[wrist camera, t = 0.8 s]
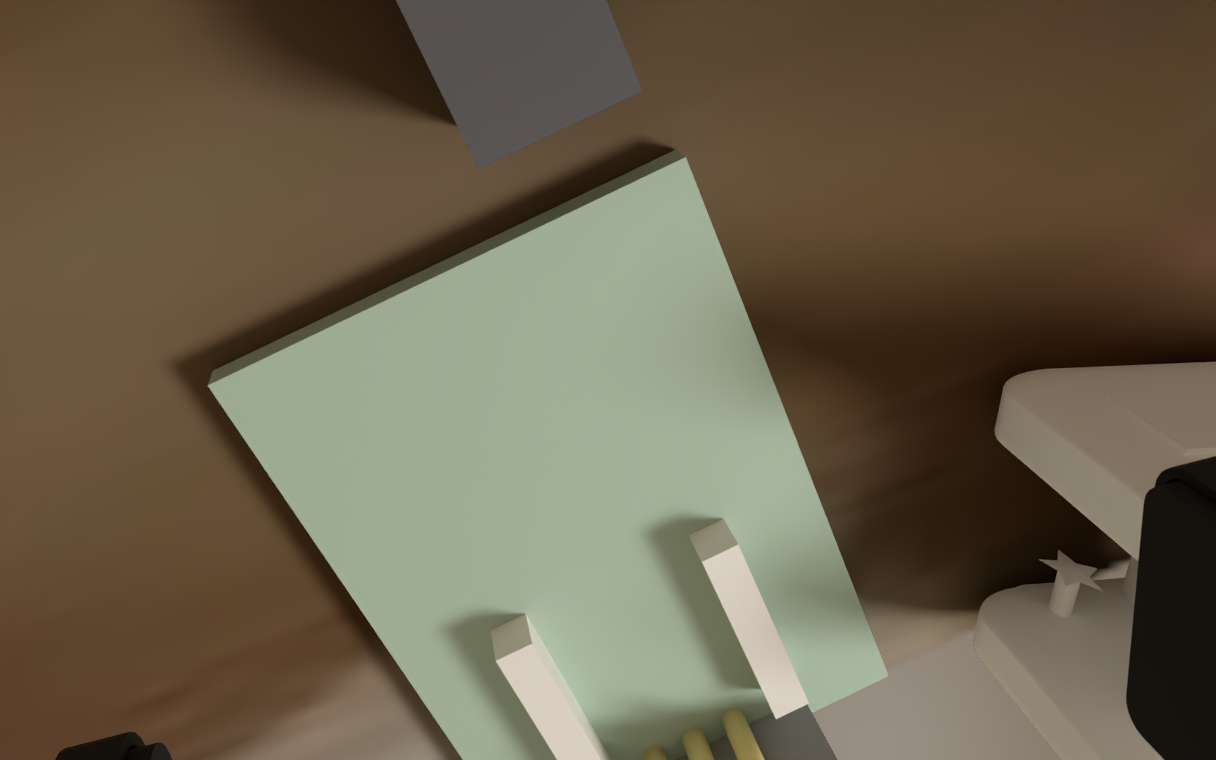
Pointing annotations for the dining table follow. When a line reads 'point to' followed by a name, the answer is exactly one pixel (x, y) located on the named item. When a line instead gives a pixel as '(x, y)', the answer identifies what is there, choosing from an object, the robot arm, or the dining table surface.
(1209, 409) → the cable organizer
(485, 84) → the plug
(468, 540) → the board
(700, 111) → the dining table surface
